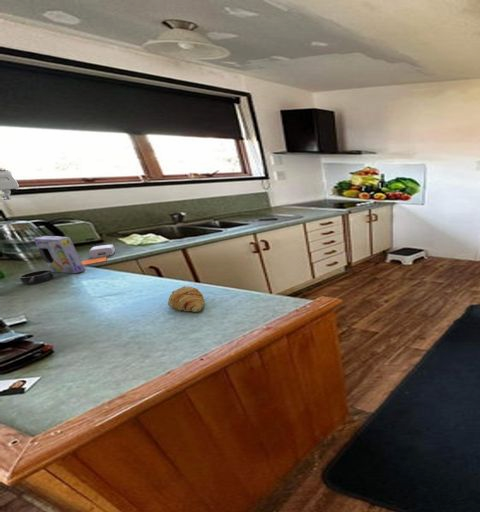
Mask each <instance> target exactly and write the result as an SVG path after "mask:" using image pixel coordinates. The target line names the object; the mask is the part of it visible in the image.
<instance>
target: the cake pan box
mask: <svg viewBox="0 0 480 512" xmlns="http://www.w3.org/2000/svg"><path fill="white" fill-rule="evenodd" d="M33 240H34V243H35V245H36V247H37V249H38V250H39V253H40V256H41V257H42V259H43V260H44V261H45V263H46V265H47V267H48V270H51V271H52V273H64V274H73V275H74V274H75V275H76V274H79V273H82V272H85V271H86V268H85V265H84V266H83V264H82V262H81V261H82V260H81V258H80V256H79V253H78V252H77V250H76V247H75V245H74V243H73V241H72V239H71V237H70V236H59V235H42V236H39V237H35V238H33Z"/></svg>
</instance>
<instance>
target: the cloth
mask: <svg viewBox="0 0 480 512" xmlns="http://www.w3.org/2000/svg"><path fill="white" fill-rule="evenodd" d="M107 257H108V256H104V257H97V258H90V259H84V260H81V262H82V264H83V265H84V266H88V265H87V264H89V265H94V264H100V263H105V262H107Z"/></svg>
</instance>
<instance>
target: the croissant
mask: <svg viewBox="0 0 480 512" xmlns="http://www.w3.org/2000/svg"><path fill="white" fill-rule="evenodd" d="M167 306H169V308H171V309H174V310H176V311H181V310H184V311H183V312H193V313H198V312H200V311H201V310H203V308H204V307H205V299H204V296H203V294H202V292H201V291H200V290H199V289H198V288H196V287H194V286H182V287H180V288H178V289H176V290H172V292H171V294H170V296H169V297H168V301H167Z"/></svg>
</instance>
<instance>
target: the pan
mask: <svg viewBox="0 0 480 512" xmlns="http://www.w3.org/2000/svg"><path fill="white" fill-rule="evenodd" d="M32 277H36V279H35V280H34V282H33V283H29V281H30V279H31V278H32ZM54 278H55V276H54V273H53V272H52V271H51V270H50V269H42V270H36V271H31V272H28V273H24V274H22V275H20V276H19V279H20V281H21V284H23V285H26V284H27V285H36V283H37V284H41V283H44V282H48V281H50V280H53V279H54Z"/></svg>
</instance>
